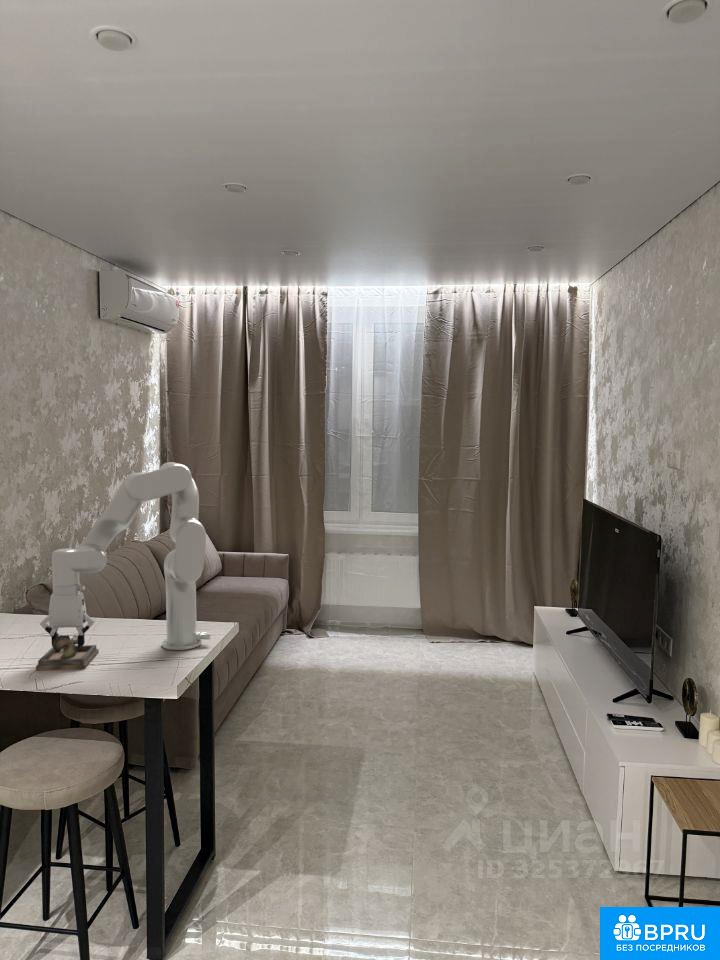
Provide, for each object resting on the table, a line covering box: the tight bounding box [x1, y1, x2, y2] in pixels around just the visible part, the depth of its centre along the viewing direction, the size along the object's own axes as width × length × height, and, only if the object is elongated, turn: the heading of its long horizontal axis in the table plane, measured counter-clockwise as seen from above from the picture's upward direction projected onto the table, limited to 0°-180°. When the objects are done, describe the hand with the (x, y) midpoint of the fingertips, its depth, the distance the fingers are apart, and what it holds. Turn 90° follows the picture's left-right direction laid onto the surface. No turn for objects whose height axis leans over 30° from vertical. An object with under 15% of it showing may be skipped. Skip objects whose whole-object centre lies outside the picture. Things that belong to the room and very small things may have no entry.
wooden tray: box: [35, 644, 100, 671], centre depth 218 cm, size 14×15×3 cm
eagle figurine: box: [51, 634, 79, 660], centre depth 216 cm, size 8×7×9 cm
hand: (68, 646), depth 218 cm, fingers closed on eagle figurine, 6 cm apart
